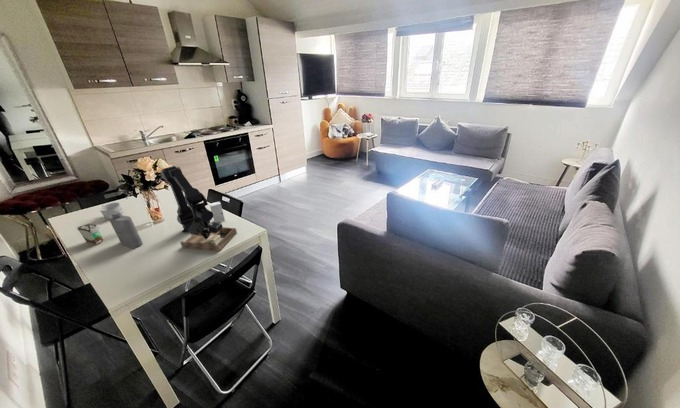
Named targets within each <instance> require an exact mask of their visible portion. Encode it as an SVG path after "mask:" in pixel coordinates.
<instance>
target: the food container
mask: <svg viewBox="0 0 680 408" xmlns="http://www.w3.org/2000/svg"><path fill="white" fill-rule="evenodd" d="M76 228H77V231H78V232H79V233H80V235H82V237H83V239H84V240H85V242H86V243H87V244H91V245H96V246H98V245H100V244H102V242H103V241H104V239H103V236H102V234H101V233H100V230H99V229H100V227H99V225H98V224H96V223H86V224H82V225H79V226H77V227H76Z"/></svg>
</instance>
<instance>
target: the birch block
mask: <svg viewBox="0 0 680 408" xmlns="http://www.w3.org/2000/svg"><path fill="white" fill-rule="evenodd" d="M220 240H221V237H220V235H213V234H212V235H211V236H210V237H209V238H207V239H206V241H207V244H218V242H219V241H220Z"/></svg>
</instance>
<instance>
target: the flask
mask: <svg viewBox="0 0 680 408" xmlns="http://www.w3.org/2000/svg"><path fill="white" fill-rule="evenodd" d="M107 219H108V221H109V222H110V224H111V226H112V229H113V231H114V233H116V234H115V235H116V236H117V238H118V240H119V243H120V244H121V245H122V246H124V247H126V248H131V249H136V248H140V247H141V246H143V245H144V243H143V240H142V238H141V237H140V234H139V232H138V229H137V228H136V226H135V223H134V222H133V220H132V217H131V216H130V215H129V216H128V215H122V214H120V212H115V213H113V214H111V215H109V216H108V218H107Z"/></svg>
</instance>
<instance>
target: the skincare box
mask: <svg viewBox="0 0 680 408" xmlns="http://www.w3.org/2000/svg"><path fill="white" fill-rule="evenodd" d="M209 206H210V211H211V212H212V213H213V218H212V219H213V221H214V223H221V222H225V221H226V219H225V215H224V212H223V207H222V203H221V201H216V202H212V203H209Z"/></svg>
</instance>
